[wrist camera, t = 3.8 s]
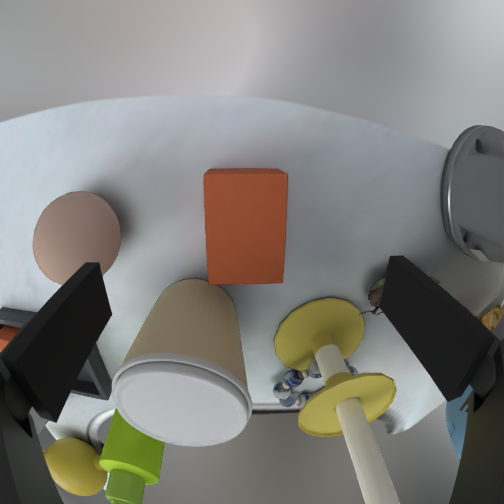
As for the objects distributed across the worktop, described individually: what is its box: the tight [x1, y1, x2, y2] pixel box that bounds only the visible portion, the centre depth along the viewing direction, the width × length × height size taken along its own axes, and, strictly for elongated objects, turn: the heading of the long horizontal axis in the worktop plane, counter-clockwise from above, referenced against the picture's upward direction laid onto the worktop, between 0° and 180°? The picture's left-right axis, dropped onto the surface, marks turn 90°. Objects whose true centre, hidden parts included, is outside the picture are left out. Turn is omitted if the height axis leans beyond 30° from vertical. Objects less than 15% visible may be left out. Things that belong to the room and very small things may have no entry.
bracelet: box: [273, 359, 358, 408], centre depth 29 cm, size 10×10×2 cm
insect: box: [359, 277, 440, 315], centre depth 24 cm, size 5×9×3 cm
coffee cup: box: [112, 279, 252, 446], centre depth 20 cm, size 9×9×12 cm
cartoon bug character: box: [480, 304, 504, 332], centre depth 29 cm, size 10×18×15 cm
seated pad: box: [0, 325, 20, 352], centre depth 25 cm, size 6×8×4 cm
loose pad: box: [204, 168, 288, 285], centre depth 21 cm, size 6×8×4 cm
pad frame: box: [0, 308, 112, 400], centre depth 26 cm, size 16×11×3 cm
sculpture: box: [42, 438, 107, 496], centre depth 32 cm, size 15×13×13 cm
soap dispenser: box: [99, 408, 165, 504], centre depth 20 cm, size 6×7×20 cm
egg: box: [33, 191, 121, 285], centre depth 18 cm, size 7×7×8 cm
